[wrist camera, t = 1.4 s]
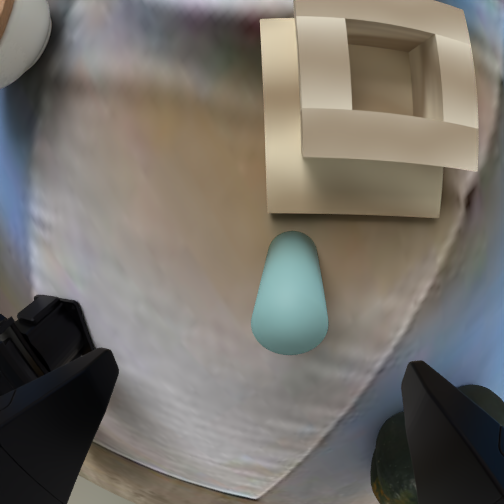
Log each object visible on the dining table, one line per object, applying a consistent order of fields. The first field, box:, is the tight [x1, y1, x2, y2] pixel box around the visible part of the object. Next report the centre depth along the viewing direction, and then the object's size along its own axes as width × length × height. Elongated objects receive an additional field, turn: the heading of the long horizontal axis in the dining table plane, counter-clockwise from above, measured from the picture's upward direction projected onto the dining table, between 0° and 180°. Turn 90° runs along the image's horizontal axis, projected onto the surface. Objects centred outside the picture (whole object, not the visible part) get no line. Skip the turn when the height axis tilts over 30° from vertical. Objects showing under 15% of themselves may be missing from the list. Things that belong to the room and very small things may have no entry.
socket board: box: [260, 0, 478, 218], centre depth 13 cm, size 12×11×5 cm
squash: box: [371, 385, 504, 504], centre depth 18 cm, size 14×15×15 cm
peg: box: [251, 231, 328, 355], centre depth 16 cm, size 3×3×8 cm
